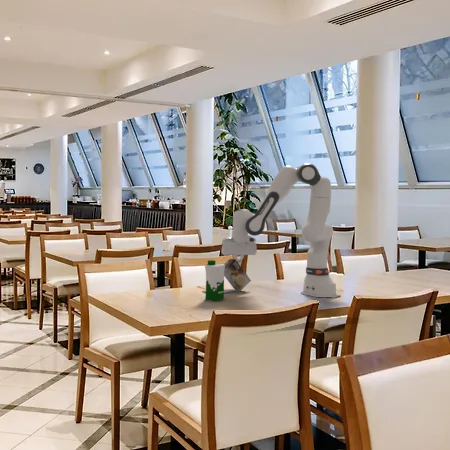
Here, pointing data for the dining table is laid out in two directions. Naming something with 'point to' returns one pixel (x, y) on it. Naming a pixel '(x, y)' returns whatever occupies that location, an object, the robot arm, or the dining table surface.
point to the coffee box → (235, 275)
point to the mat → (227, 291)
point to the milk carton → (214, 281)
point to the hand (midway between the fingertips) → (238, 262)
